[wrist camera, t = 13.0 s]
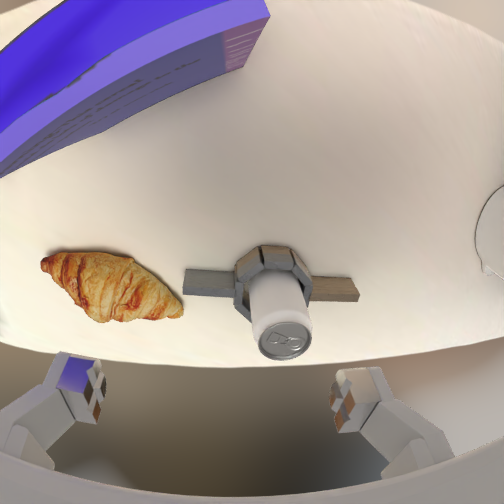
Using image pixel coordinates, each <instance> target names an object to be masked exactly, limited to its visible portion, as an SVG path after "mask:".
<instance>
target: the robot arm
mask: <svg viewBox="0 0 504 504" xmlns="http://www.w3.org/2000/svg"><path fill="white" fill-rule="evenodd" d="M476 249H477V252H478V255H479V256H480V258H481V260H482V271H483V273H484V274H486V275H493V274H497V275H498V276H499V277H500V278H502V279H503V280H504V186H503V187H502V188H500V189H499V190H497V191H496V192H495V193H494V194H493V195H492V197H491V198H490V199H489V201H488V202H487V204H486V205H485V207H484V209H483V211H482V213H481V216H480V219H479V222H478V225H477V230H476ZM101 367H102V365H101V362H100V359H97V358H92V357H87V356H82V355H77V354H71V353H66V352H61V351H60V352H59V353H57V354H56V357H55V359H54V361H53V363H52V365H51V367H50V369H49V371H48V374H47V376H46V378H45V380H44V382H43V384H42V385H40V384H39V385H37V386H36V387H34V388H33V389H31V390H30V391H28V392H27V393H26V394H24V395H23V396H21V397H19V398H18V399H17V400H15V401H14V402H12V403H11V404H10V405H8V406H6V407H5V408H3V409H2V410H0V504H504V436H503V437H501V438H498V439H496V440H494V441H492V442H490V443H488V444H486V445H483V446H481V447H479V448H477V449H474V450H472V451H469V452H467V453H464V454H462V455H459V456H457V457H455V456H454V454H453V452H452V449H451V447H450V445H449V443H448V441H447V439H446V437H445V434H444V432H443V431H442V430H440V429H439V428H438V427H436V426H435V425H434V424H432V423H431V422H429V421H428V420H426V419H425V418H424V417H422V416H421V415H420V414H418V413H417V412H416V411H414V410H412V409H411V408H410V407H409V406H407V405H406V404H404V403H403V402H402V401H400V400H399V399H396V400H395V398H394V396H393V394H392V392H391V389H390V387H389V385H388V383H387V381H386V379H385V377H384V374H383V372H382V370H381V368H379V367H366V368H352V369H340V370H339V371H338V372H337V375H336V379H337V381H336V382H335V383H333V384H332V386H331V388H330V393H329V402H330V406H331V409H332V410H333V411H335V412H336V415H335V418H334V420H335V423H336V427H337V430H338V433H344V432H354V431H360V433H361V434H362V435H363V436H364V437H365V438H366V439H367V440H368V441H369V442H370V443H371V444H372V445H373V446H374V447H375V448H376V449H377V450H378V451H379V452H380V453H381V454H382V455H383V456H384V457H385V458H386V459H387V460H388V461H389V462H390V464H389V465H388V466H387V467H386V468H385V469H384V470H383V471H382V472H381V477H382V480H379V481H375V482H370V483H366V484H361V485H356V486H351V487H345V488H339V489H333V490H327V491H319V492H312V493H303V494H293V495H281V496H265V497H203V496H185V495H175V494H165V493H155V492H148V491H142V490H135V489H129V488H123V487H118V486H113V485H108V484H103V483H98V482H94V481H90V480H86V479H82V478H78V477H74V476H71V475H67V474H63V473H60V472H57V471H53V469H54V466H55V464H54V462H53V460H52V459H51V458H50V457H49V456H48V455H47V453H46V452H45V451H46V450H47V449H48V448H49V447H50V446H51V445H52V444H53V443H54V442H55V441H56V440H57V439H58V438H59V437H60V436H61V435H62V434H63V433H64V432H65V431H66V430H67V429H68V428H69V427H71V426H72V425H73V424H74V423H75V420H76V421H82V422H86V423H92V424H97V423H98V419H99V415H100V412H101V408H100V405H99V403H100V402H101V401H103V400H104V398H105V394H106V378H105V375H104V373H102V372H101V371H100V370H101Z"/></svg>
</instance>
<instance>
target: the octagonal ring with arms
mask: <svg viewBox="0 0 504 504" xmlns="http://www.w3.org/2000/svg"><path fill="white" fill-rule="evenodd" d="M263 253H275V254H291V257H295V258H296V259H297V260H298V261H299V263H300V264H301V265H302V266H303V267H304V268H305V270H306V271H307V272H308V270H307V268H306V266H305V264H304V263H303V262H302V261H301V260H300V258H299V257H298V256H297V255H296V254H295V252H294V251H293V250H292V249H290V250H289V249H288V247H281V246H266V245H261V250H260V248H259V247H258V246H257V247H256V248H255V249H253V250H252V251H251V252H249V253H248V254H247V255H245V256H244V257H242V258H241V259H240V260H238V261H237V265H235V269H234V280H235V273H237V270H238V269H239V268H240V267H242V266H243V265H245V264H246V263H247V262H249V261H250V260H251V259H253V258H254V257H255V256H257V255H258V254H260V256H261V257H262V256H263ZM308 273H309V272H308ZM310 277H311V280H312V282H313V283H312V284H313V289H312V293H310V295H311V296H310V295H309V296H310V297H309V298H310V300H308V301H338V302H358V299H359V296H360V293H359V292H358V290H357V288H356V287H355V285H354V283H353V281H352V280H351V278H336V277H315V276H310ZM297 279H298V277H297ZM298 282H299V285H301V281H300V280H299V279H298ZM243 297H244V298H245V299H246V300H247V301H248V302H249V303H250V298H249V294H248V293H247V292H246V291H245V290H244V289H243ZM309 298H308V299H309Z"/></svg>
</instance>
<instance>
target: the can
mask: <svg viewBox="0 0 504 504" xmlns="http://www.w3.org/2000/svg"><path fill="white" fill-rule="evenodd" d="M248 286H249V298H250V309H251V319H252V329H253V336H254V340H255V342H256V344H257V345H258V347H259V350H260V352H261V353H262V354H263V355H264V356H266V357H267V358H269V359H272V360H278V361H284V360H290V359H293V358H296V357H298V356H300V355H301V354H303V353H304V352H305V351H306V350H307V349H308V348H309V346H310V344H311V340H312V337H311V334H312V323H311V319H310V316H309V313H308V309H307V306H306V303H305V300H304V297H303V294H302V291H301V288H300V285H299V282H298V279H297V276H296V275H295V274H294V273H293V272H292V271H291V270H281V269H264V270H262V271H261V272H259V273H258V274H257V275H255V276H254V277H252V278H251V279H250V280H249V281H248Z"/></svg>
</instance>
